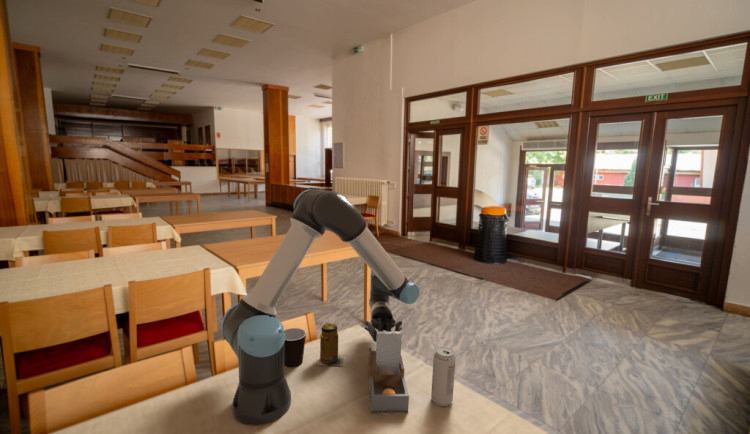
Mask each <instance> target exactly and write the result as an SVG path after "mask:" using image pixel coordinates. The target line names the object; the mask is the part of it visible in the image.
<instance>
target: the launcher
mask: <svg viewBox="0 0 750 434" xmlns="http://www.w3.org/2000/svg"><path fill="white" fill-rule="evenodd" d="M367 352H368V355H367V372H368V373H367V374H368V387H369V391H368V392H370V376H373V383H374V389H388V388H390V389H401V376H404V377H405V365H404V362H403V357H402V356H401V358H400V363H399V375H377V374H376V368H377V363H376V350H372V347H368V351H367Z"/></svg>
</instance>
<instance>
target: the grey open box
mask: <svg viewBox="0 0 750 434" xmlns="http://www.w3.org/2000/svg"><path fill="white" fill-rule="evenodd" d="M384 390H385V389H374V383H373V376H370V391H369V403H370V414H408V413H409V404H410V400H409V399H410V394H409V391H408V387H407V382H406V378H405V375H404V376H401V389H392V390H394V392H395V394H382V393H383V391H384Z"/></svg>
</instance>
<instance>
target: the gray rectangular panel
mask: <svg viewBox="0 0 750 434" xmlns="http://www.w3.org/2000/svg"><path fill="white" fill-rule="evenodd" d="M402 336H403V334H402V331H400V332H394V331H392V332H386V331H383V332H378V331H377V339H376V342H375V343H376V345H375V351H376V363H377V368H376V374H377V375H399V363H400V358H401V357H402V353H401V352H402Z"/></svg>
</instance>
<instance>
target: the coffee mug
mask: <svg viewBox="0 0 750 434" xmlns="http://www.w3.org/2000/svg"><path fill="white" fill-rule="evenodd" d="M284 334H285V342H284V367H286V368H289V369H290V368H297V367H299V366H301V365H302V364H303V360H304V354H305V353H304V352H305V346H306V337H307V331H306V330H305V329H304V328H300V327H290V328H287V329H284Z"/></svg>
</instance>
